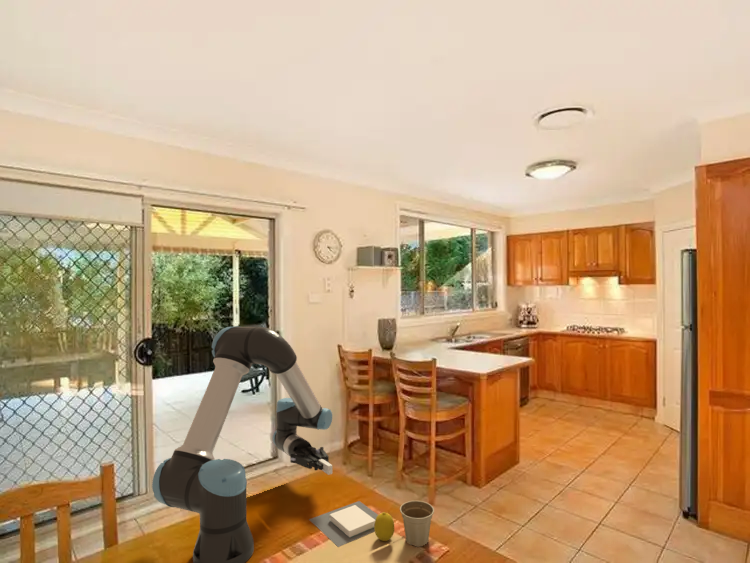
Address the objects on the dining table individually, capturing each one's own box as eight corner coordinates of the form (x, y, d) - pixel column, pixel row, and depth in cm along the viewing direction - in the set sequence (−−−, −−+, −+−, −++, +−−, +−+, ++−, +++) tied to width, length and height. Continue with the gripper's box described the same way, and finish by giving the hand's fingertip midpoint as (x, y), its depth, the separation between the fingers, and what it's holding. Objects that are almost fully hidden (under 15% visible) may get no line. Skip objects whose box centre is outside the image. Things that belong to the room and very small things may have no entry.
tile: (329, 521, 129) (349, 538, 120) (329, 514, 129) (349, 531, 120) (355, 511, 134) (375, 527, 125) (355, 504, 134) (375, 520, 125)
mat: (338, 549, 116) (338, 546, 116) (309, 521, 130) (309, 519, 130) (391, 526, 127) (391, 524, 127) (359, 502, 141) (359, 500, 141)
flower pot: (441, 540, 120) (441, 509, 120) (419, 555, 113) (418, 522, 113) (415, 526, 127) (415, 497, 127) (393, 540, 120) (392, 509, 120)
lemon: (392, 548, 116) (392, 518, 116) (372, 546, 117) (372, 516, 117) (396, 536, 122) (395, 508, 122) (376, 534, 123) (376, 506, 123)
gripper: (314, 454, 161) (347, 476, 142) (280, 463, 153) (312, 487, 134) (313, 434, 161) (347, 453, 142) (280, 441, 154) (311, 463, 134)
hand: (330, 469), depth 138 cm, fingers closed
